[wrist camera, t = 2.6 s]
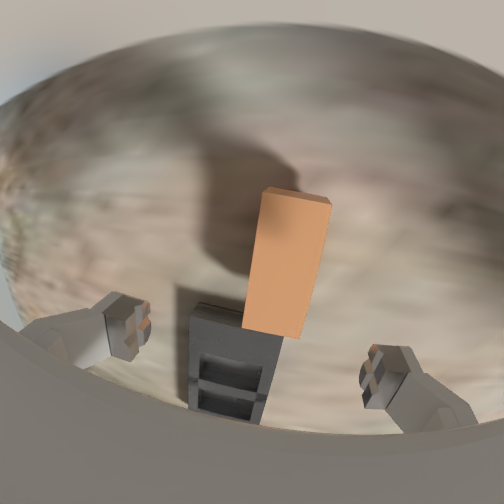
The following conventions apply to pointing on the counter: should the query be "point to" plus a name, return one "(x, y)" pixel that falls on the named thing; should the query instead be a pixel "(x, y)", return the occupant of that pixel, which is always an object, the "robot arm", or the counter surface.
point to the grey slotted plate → (229, 365)
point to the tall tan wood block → (285, 260)
